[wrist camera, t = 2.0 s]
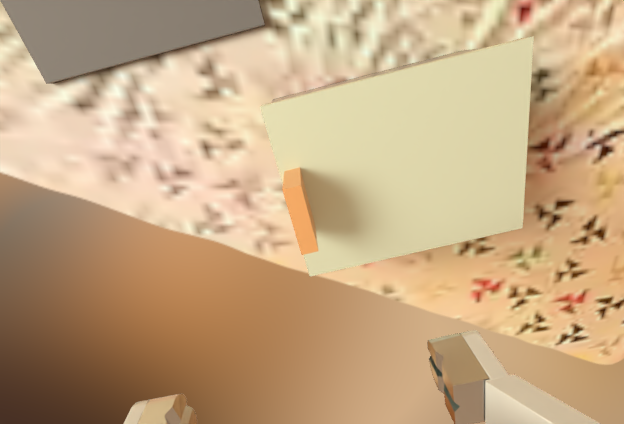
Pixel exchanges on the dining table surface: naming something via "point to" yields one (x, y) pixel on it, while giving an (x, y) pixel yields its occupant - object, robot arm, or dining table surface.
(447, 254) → the dining table surface
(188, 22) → the mat
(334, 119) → the lid
